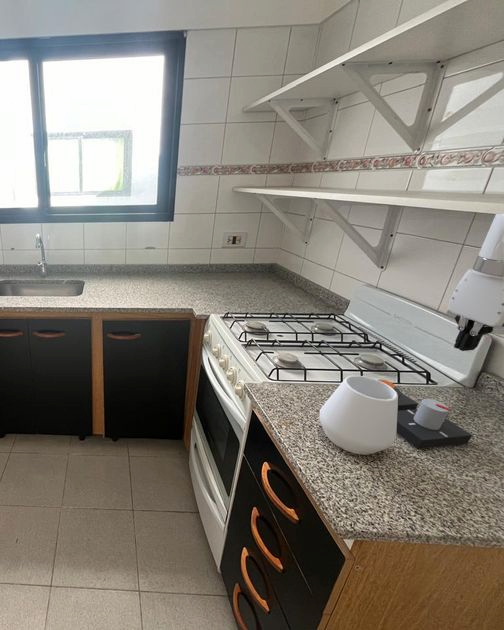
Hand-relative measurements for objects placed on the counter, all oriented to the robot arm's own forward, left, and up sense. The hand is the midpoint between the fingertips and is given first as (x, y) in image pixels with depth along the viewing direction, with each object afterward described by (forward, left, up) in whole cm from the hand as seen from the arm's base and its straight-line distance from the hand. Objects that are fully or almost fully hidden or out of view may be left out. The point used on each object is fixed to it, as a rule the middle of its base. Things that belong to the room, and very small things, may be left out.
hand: (463, 348), depth 75 cm
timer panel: (+7, +5, -19) cm, 20 cm away
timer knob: (+7, +5, -16) cm, 18 cm away
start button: (+7, -6, -15) cm, 18 cm away
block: (+7, -6, -19) cm, 21 cm away
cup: (+25, +5, -19) cm, 32 cm away
